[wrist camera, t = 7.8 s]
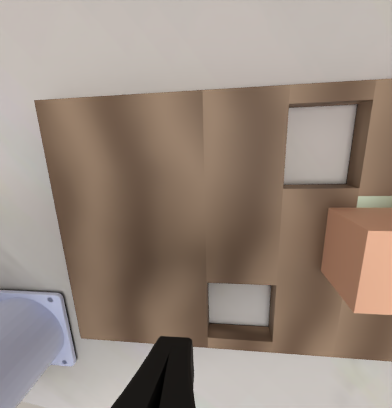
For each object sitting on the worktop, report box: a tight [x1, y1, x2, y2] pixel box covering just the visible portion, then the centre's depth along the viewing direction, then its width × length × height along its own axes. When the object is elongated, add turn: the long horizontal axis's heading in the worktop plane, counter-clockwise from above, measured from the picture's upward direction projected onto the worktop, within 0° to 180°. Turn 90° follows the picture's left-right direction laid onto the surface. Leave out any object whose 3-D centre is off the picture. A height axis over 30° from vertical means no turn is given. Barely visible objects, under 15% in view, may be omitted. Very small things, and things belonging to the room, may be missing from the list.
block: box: [321, 208, 392, 315], centre depth 13 cm, size 4×4×4 cm
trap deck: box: [34, 79, 392, 361], centre depth 16 cm, size 25×19×2 cm
